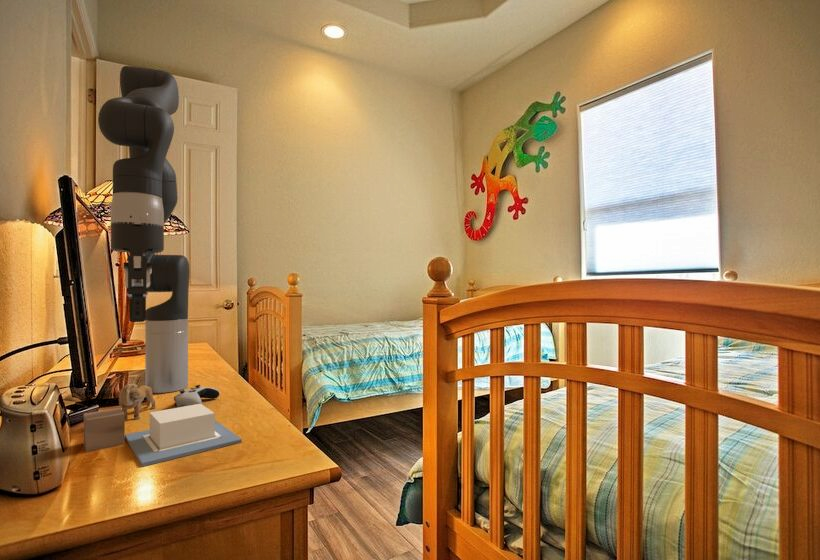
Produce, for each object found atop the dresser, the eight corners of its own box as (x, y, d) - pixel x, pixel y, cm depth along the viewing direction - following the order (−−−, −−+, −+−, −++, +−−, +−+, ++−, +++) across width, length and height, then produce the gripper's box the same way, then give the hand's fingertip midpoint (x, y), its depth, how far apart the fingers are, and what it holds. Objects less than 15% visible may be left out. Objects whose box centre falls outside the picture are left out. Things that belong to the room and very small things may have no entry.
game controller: (201, 403, 87) (179, 384, 88) (184, 423, 87) (162, 404, 88) (223, 392, 97) (203, 374, 97) (207, 410, 97) (188, 392, 97)
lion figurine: (139, 423, 80) (139, 385, 80) (113, 426, 79) (113, 386, 79) (158, 406, 92) (158, 372, 92) (136, 408, 91) (136, 374, 91)
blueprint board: (124, 437, 73) (124, 433, 73) (211, 419, 82) (211, 416, 82) (142, 466, 61) (142, 462, 61) (241, 442, 70) (241, 438, 70)
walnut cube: (83, 443, 70) (83, 413, 70) (119, 436, 74) (120, 407, 74) (86, 452, 66) (86, 420, 67) (124, 444, 70) (124, 413, 70)
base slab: (149, 436, 72) (149, 412, 72) (200, 425, 77) (200, 403, 77) (160, 449, 66) (160, 423, 66) (214, 437, 71) (214, 413, 71)
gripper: (113, 227, 76) (113, 318, 75) (107, 215, 63) (107, 324, 63) (162, 229, 80) (162, 316, 79) (165, 219, 67) (165, 321, 67)
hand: (138, 320), depth 71 cm, fingers open, 8 cm apart
